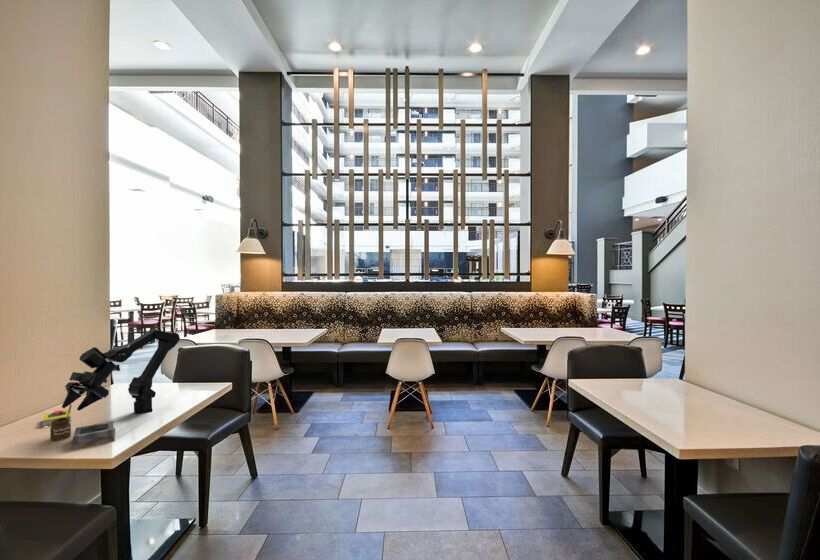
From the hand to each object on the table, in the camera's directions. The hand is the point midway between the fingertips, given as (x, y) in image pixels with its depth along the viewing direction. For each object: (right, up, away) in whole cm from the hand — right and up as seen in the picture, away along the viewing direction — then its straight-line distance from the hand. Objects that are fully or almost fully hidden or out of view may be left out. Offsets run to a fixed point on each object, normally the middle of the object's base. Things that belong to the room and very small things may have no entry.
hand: (70, 408), depth 155 cm
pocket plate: (+14, -10, -5) cm, 18 cm away
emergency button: (-19, -11, +16) cm, 27 cm away
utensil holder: (-1, -10, -3) cm, 11 cm away
